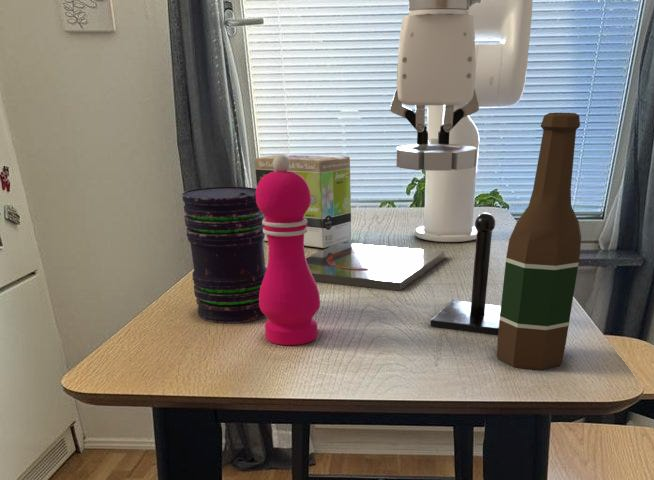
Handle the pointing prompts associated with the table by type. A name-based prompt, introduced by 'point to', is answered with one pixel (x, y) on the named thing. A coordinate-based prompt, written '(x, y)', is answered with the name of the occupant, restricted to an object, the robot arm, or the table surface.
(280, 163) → the pepper mill
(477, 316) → the black peg stand
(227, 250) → the storage jar
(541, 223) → the beer bottle
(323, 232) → the tea box
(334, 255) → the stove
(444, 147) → the octagonal ring with handle
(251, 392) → the table surface
